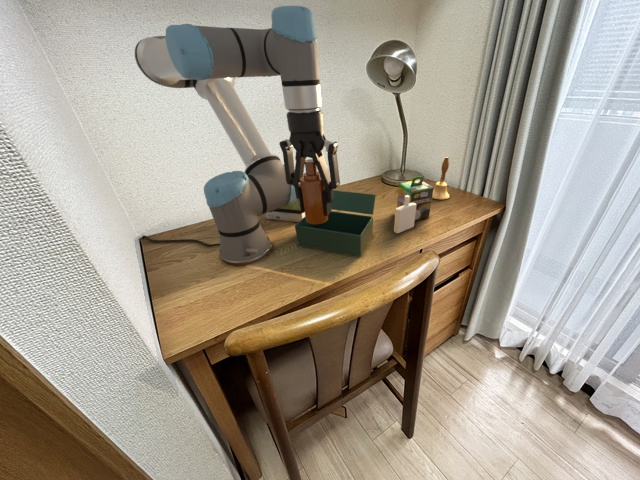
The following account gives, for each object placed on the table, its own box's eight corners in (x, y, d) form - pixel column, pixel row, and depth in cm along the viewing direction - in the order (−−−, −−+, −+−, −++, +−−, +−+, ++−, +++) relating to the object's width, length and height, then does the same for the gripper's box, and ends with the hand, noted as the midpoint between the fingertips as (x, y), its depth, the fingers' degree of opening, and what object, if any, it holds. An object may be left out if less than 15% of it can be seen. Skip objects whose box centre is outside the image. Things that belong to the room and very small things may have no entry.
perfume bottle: (410, 224, 92) (414, 192, 85) (414, 226, 91) (418, 194, 84) (393, 231, 89) (395, 198, 82) (397, 234, 88) (400, 200, 80)
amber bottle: (301, 222, 68) (292, 163, 59) (312, 212, 72) (304, 156, 63) (322, 225, 66) (316, 165, 57) (331, 215, 71) (327, 158, 62)
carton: (298, 245, 84) (294, 225, 79) (315, 227, 93) (313, 208, 89) (360, 257, 77) (360, 236, 73) (372, 236, 87) (373, 216, 83)
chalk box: (416, 207, 103) (421, 169, 95) (430, 217, 96) (436, 177, 88) (395, 212, 101) (398, 173, 92) (408, 222, 94) (412, 181, 85)
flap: (314, 188, 87) (315, 188, 87) (313, 206, 88) (313, 207, 89) (375, 194, 81) (375, 194, 81) (372, 214, 82) (373, 214, 82)
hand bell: (445, 191, 116) (452, 154, 106) (452, 199, 109) (460, 159, 99) (426, 192, 115) (432, 155, 106) (433, 200, 108) (439, 160, 99)
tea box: (266, 220, 99) (256, 181, 90) (278, 208, 107) (270, 172, 98) (303, 223, 96) (297, 184, 87) (312, 211, 104) (307, 174, 95)
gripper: (353, 108, 54) (355, 210, 68) (275, 107, 60) (291, 202, 74) (339, 113, 49) (345, 223, 63) (255, 112, 54) (277, 213, 68)
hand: (316, 211), depth 68 cm, fingers closed on amber bottle, 6 cm apart
